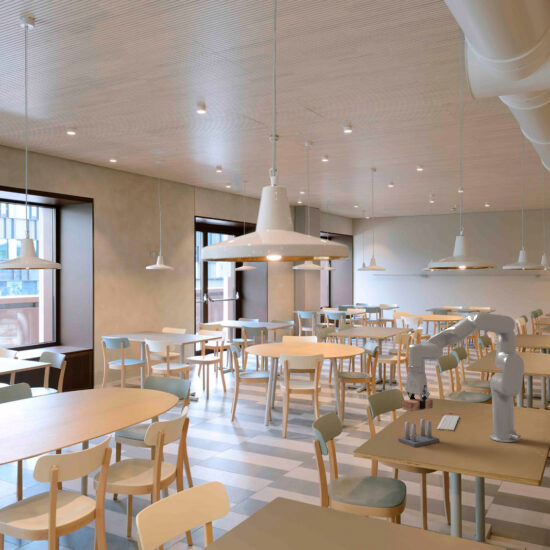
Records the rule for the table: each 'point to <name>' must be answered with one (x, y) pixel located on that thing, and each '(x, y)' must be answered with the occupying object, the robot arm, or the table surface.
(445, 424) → the baseboard
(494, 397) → the robot arm
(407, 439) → the peg stand
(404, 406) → the pink elongated block
